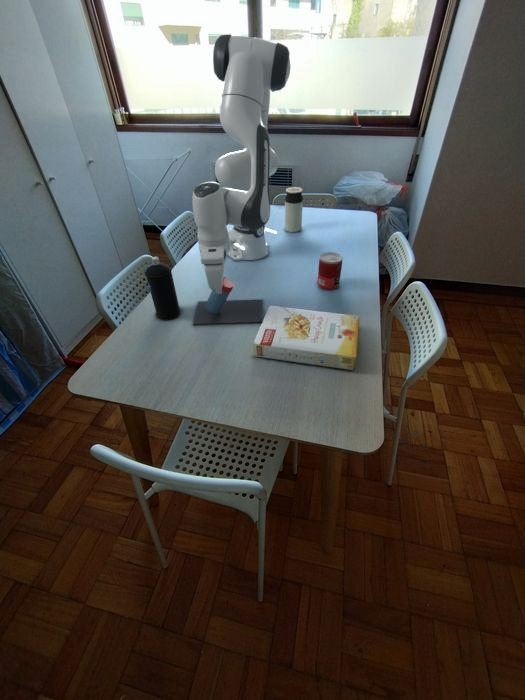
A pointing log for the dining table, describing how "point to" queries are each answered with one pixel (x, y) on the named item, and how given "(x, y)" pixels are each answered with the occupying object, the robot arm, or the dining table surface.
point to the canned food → (329, 270)
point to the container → (219, 297)
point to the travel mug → (293, 209)
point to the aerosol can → (162, 290)
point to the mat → (230, 313)
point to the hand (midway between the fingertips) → (220, 286)
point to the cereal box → (308, 337)
